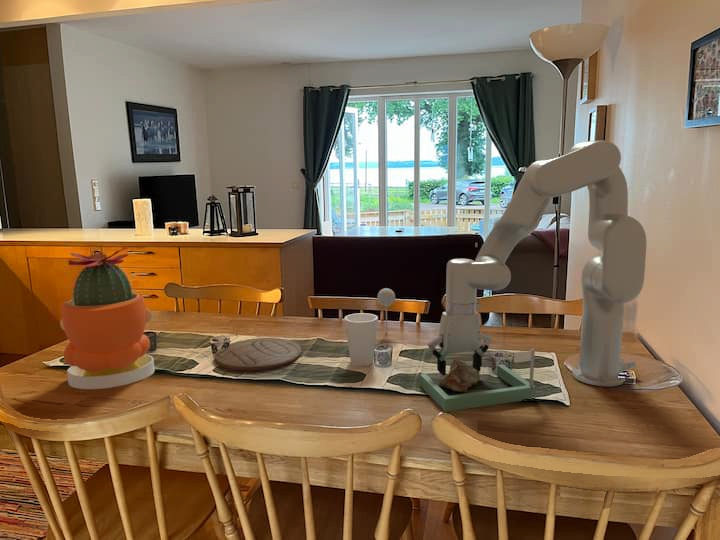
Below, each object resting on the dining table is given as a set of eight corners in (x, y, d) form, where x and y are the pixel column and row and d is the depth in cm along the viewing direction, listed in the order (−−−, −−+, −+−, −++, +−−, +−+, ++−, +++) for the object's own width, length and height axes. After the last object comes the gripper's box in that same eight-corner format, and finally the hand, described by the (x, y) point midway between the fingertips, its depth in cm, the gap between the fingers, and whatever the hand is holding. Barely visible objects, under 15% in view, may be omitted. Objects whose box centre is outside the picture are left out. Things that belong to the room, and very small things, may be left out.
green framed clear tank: (502, 375, 144) (503, 331, 141) (535, 398, 129) (537, 350, 127) (420, 385, 138) (420, 340, 136) (445, 411, 123) (445, 361, 121)
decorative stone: (483, 358, 142) (474, 386, 129) (482, 373, 143) (474, 402, 130) (446, 354, 145) (434, 380, 132) (446, 368, 147) (434, 396, 133)
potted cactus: (71, 371, 152) (56, 247, 146) (156, 360, 160) (145, 241, 153) (60, 401, 132) (41, 259, 126) (157, 387, 140) (144, 252, 133)
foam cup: (375, 368, 150) (374, 323, 147) (342, 366, 152) (341, 321, 149) (380, 356, 159) (380, 313, 157) (349, 355, 161) (348, 312, 158)
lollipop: (375, 330, 184) (374, 287, 181) (391, 328, 186) (391, 285, 183) (381, 335, 178) (380, 291, 175) (398, 333, 180) (397, 289, 177)
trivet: (240, 380, 144) (239, 373, 144) (201, 356, 164) (200, 350, 163) (317, 358, 160) (317, 351, 160) (273, 338, 179) (273, 332, 179)
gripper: (485, 301, 144) (483, 363, 147) (423, 306, 140) (422, 370, 143) (499, 308, 137) (496, 373, 140) (434, 314, 132) (433, 380, 136)
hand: (459, 371), depth 141 cm, fingers open, 9 cm apart
